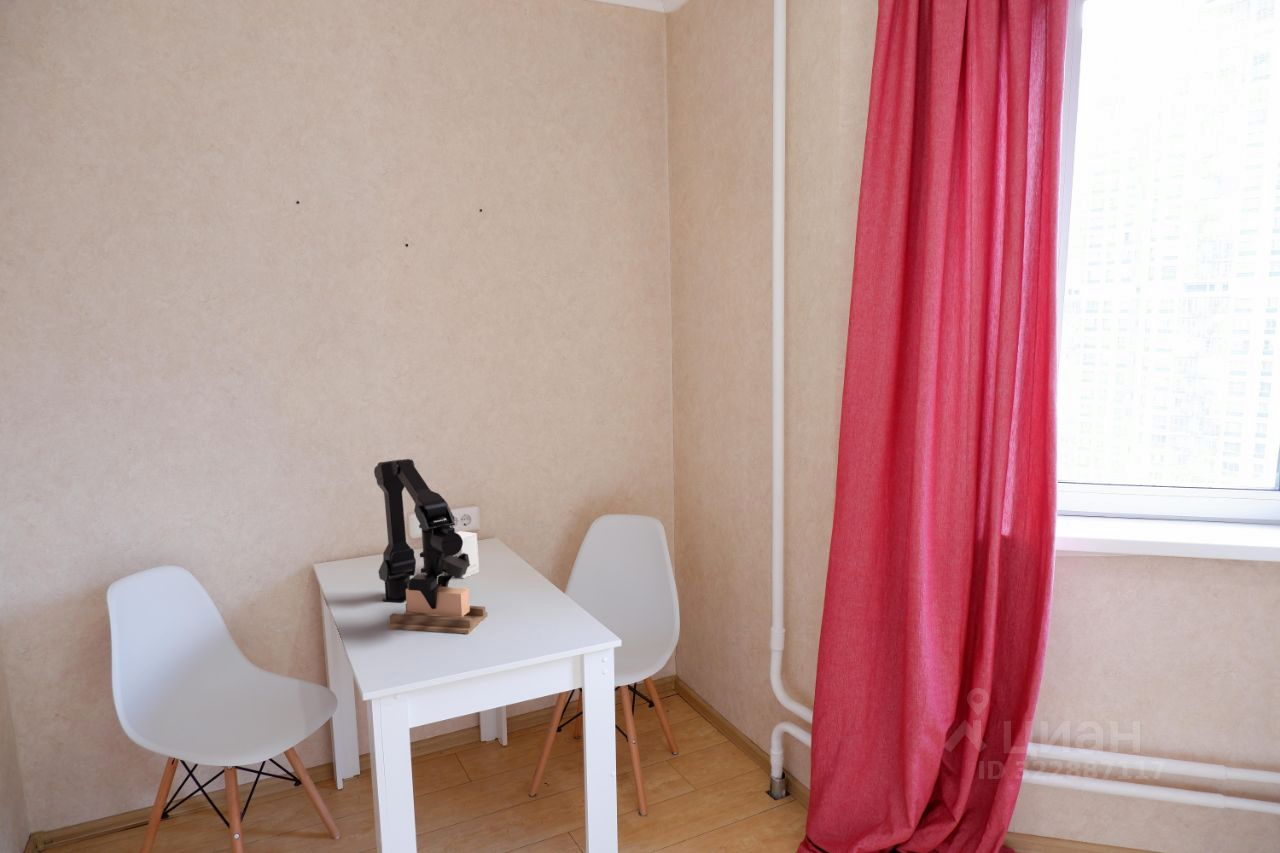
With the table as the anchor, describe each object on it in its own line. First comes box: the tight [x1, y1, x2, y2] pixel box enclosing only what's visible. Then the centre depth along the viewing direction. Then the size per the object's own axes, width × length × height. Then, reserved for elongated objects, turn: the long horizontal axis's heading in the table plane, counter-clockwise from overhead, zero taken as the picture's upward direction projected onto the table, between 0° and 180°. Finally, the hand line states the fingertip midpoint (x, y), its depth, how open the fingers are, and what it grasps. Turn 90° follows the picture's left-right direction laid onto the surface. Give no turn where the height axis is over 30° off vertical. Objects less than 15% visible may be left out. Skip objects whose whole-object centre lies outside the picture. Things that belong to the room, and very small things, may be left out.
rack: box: [387, 603, 489, 635], centre depth 196 cm, size 22×12×3 cm, turn 78°
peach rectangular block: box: [405, 586, 471, 617], centre depth 195 cm, size 16×4×6 cm, turn 74°
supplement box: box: [453, 530, 480, 579], centre depth 234 cm, size 7×7×13 cm
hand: (437, 605), depth 195 cm, fingers closed on peach rectangular block, 4 cm apart
